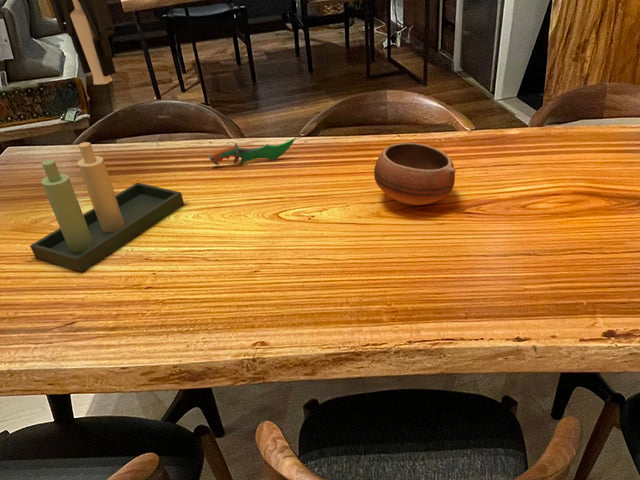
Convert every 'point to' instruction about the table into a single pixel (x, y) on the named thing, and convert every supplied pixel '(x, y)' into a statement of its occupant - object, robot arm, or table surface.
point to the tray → (138, 214)
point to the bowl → (414, 173)
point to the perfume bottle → (88, 43)
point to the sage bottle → (66, 208)
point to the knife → (251, 152)
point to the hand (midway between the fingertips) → (99, 72)
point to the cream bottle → (100, 189)
